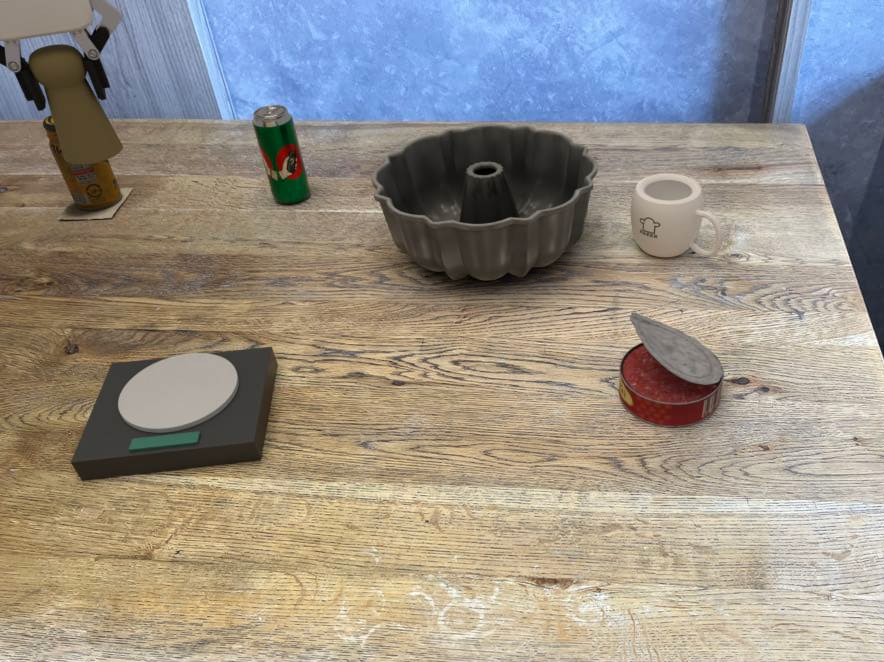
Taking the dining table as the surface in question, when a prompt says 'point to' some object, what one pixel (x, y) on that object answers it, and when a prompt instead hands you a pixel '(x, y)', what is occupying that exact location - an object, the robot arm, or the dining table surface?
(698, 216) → the mug
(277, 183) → the soda can
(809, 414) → the dining table surface
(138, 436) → the scale
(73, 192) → the condiment
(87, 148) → the cork
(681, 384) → the canned food
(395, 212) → the bundt pan
